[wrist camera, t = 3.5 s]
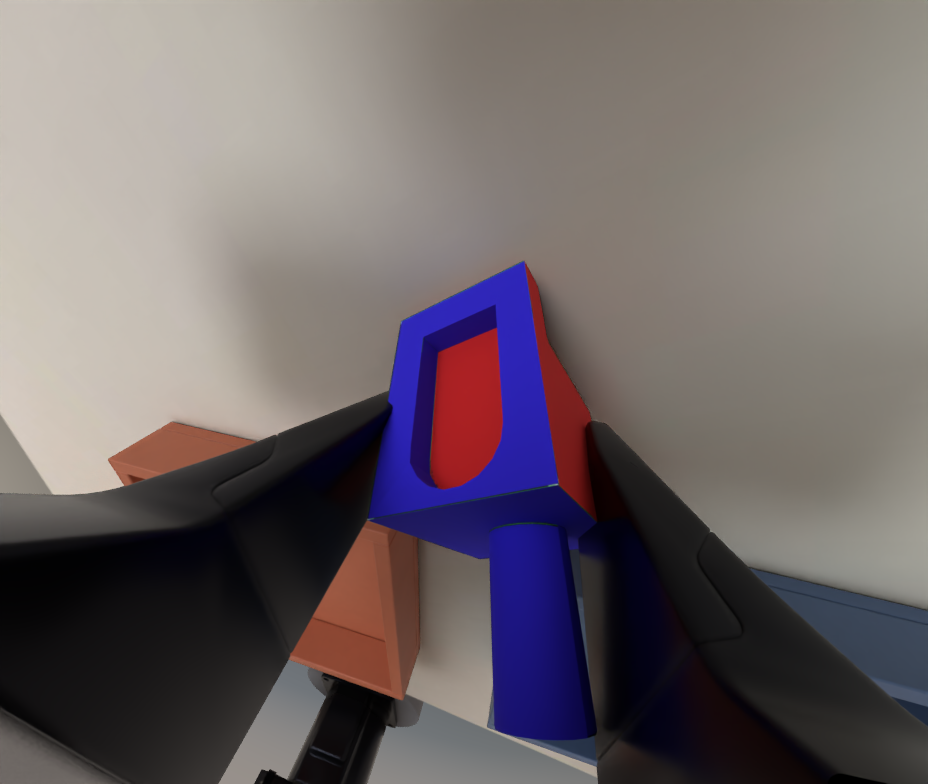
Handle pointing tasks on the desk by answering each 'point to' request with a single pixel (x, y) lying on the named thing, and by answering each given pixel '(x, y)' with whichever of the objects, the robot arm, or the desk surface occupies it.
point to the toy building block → (498, 485)
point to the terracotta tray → (351, 592)
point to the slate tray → (842, 623)
